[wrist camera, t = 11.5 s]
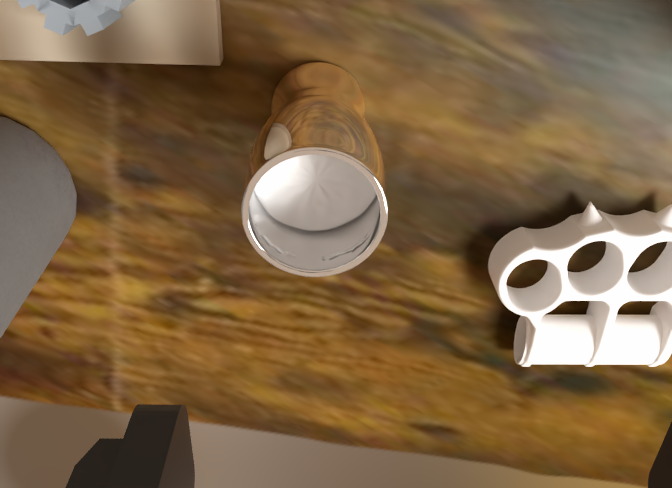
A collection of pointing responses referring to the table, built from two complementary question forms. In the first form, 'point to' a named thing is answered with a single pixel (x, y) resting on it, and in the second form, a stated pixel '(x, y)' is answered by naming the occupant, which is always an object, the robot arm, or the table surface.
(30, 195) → the canister
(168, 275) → the table surface
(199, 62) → the gear board
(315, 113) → the beer glass
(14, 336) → the table surface
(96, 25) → the gear
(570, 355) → the white brass knuckles
